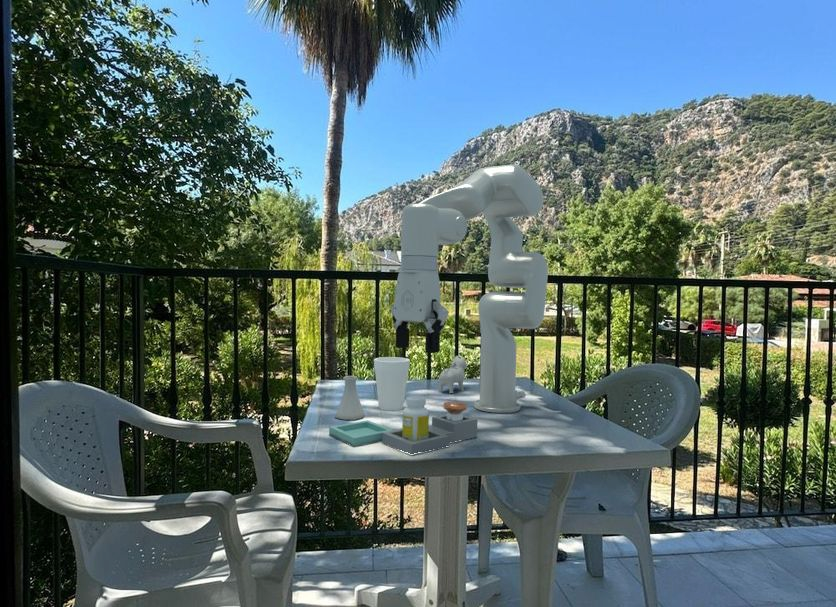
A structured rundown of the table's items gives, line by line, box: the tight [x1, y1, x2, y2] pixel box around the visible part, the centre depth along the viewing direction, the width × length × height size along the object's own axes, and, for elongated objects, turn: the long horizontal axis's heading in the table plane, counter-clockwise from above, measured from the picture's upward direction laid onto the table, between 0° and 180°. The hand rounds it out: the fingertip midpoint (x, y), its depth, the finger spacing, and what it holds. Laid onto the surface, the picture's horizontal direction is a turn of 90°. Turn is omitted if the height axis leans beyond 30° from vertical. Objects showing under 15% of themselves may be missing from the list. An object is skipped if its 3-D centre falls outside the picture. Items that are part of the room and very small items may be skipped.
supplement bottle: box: [401, 395, 430, 442], centre depth 107 cm, size 5×5×10 cm
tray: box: [328, 420, 394, 447], centre depth 112 cm, size 10×10×2 cm
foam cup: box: [373, 356, 411, 412], centre depth 139 cm, size 10×9×13 cm
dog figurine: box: [438, 355, 468, 393], centre depth 164 cm, size 5×13×11 cm, turn 147°
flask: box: [334, 375, 365, 421], centre depth 129 cm, size 7×7×10 cm
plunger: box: [443, 400, 467, 422], centre depth 114 cm, size 5×5×7 cm
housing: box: [381, 413, 478, 454], centre depth 110 cm, size 19×10×4 cm, turn 129°
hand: (416, 350), depth 107 cm, fingers open, 9 cm apart
